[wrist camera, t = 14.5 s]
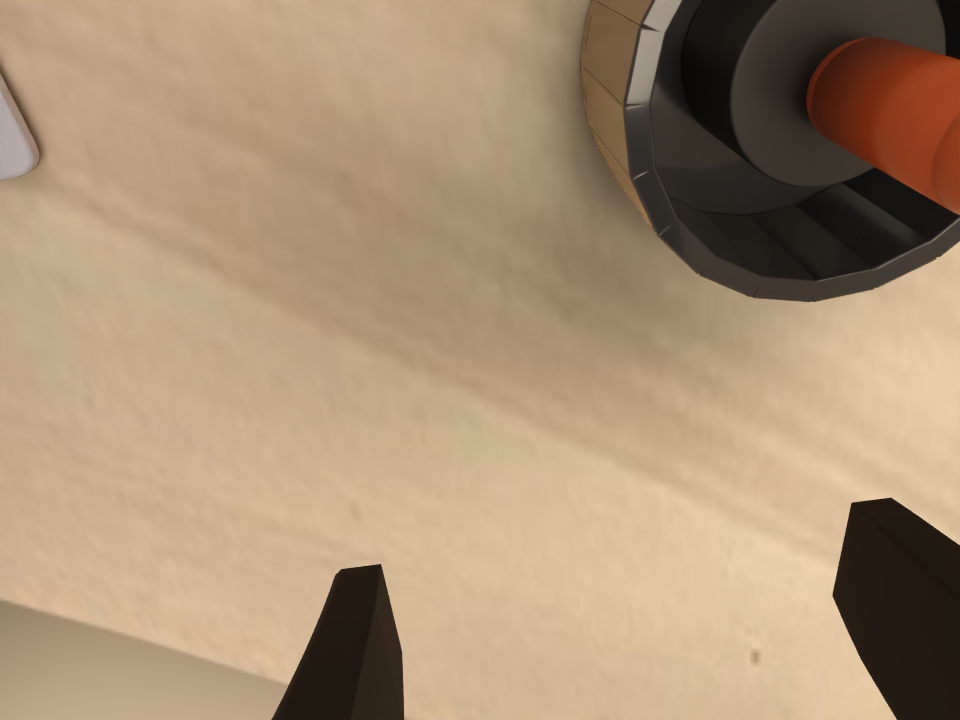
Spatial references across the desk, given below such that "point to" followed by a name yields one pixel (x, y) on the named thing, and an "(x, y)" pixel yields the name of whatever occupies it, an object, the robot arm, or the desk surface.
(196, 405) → the desk surface
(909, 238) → the dark grey round container
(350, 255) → the desk surface
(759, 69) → the brush
